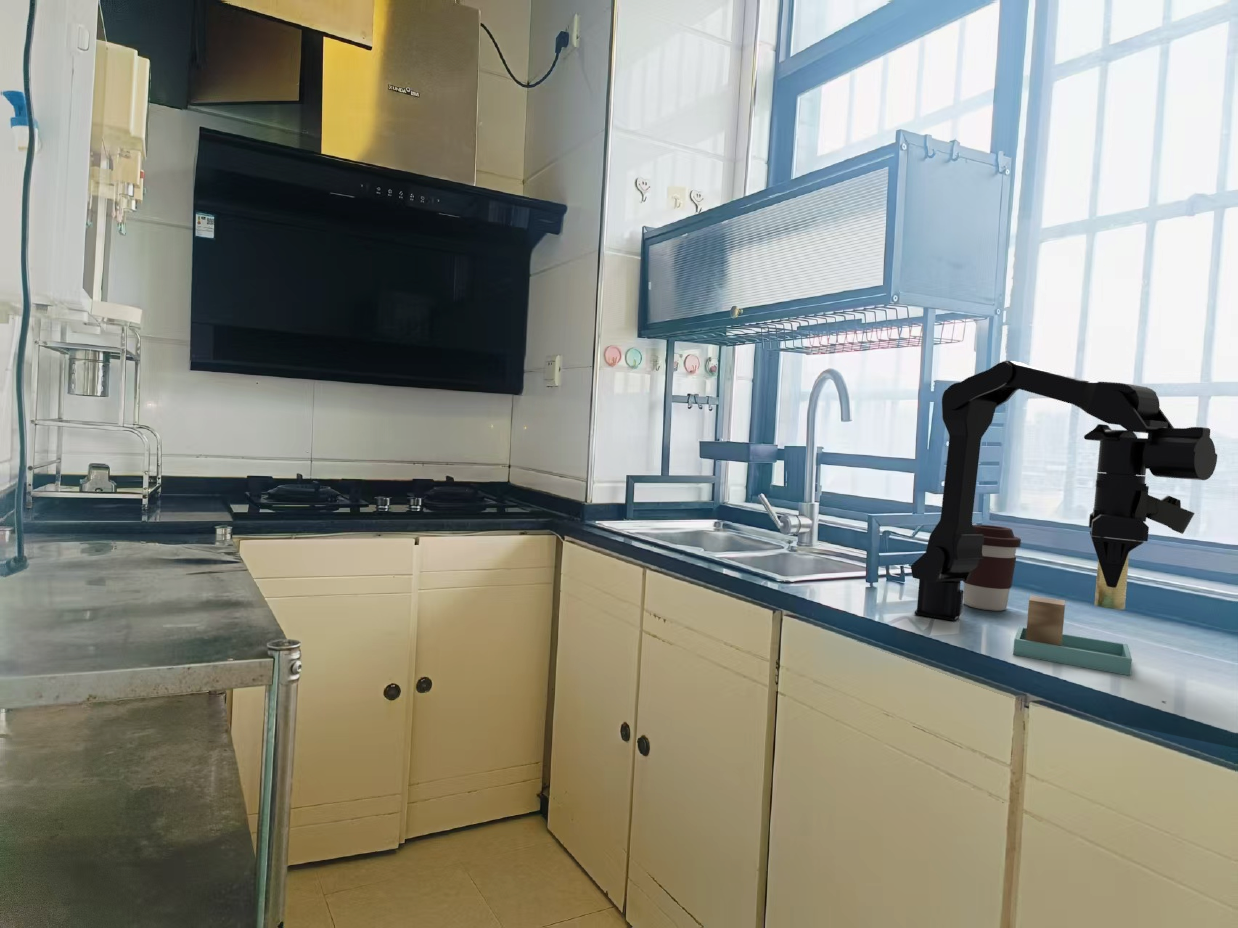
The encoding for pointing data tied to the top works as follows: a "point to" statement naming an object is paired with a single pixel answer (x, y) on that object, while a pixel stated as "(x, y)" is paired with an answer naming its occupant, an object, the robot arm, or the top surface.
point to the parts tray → (1077, 652)
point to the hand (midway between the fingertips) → (1110, 585)
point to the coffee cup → (992, 569)
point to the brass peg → (1111, 590)
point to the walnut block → (1045, 620)
